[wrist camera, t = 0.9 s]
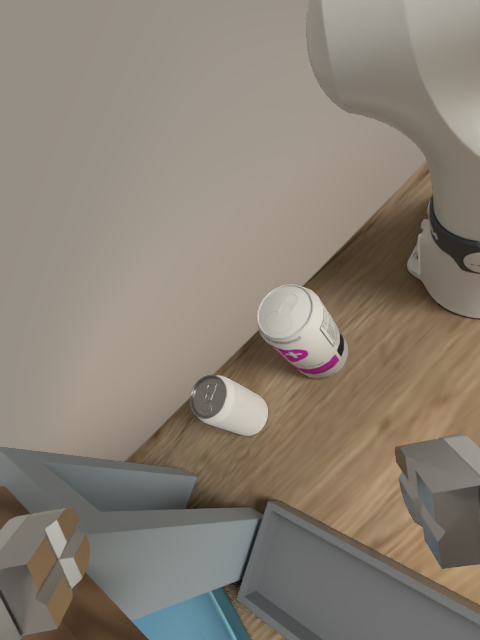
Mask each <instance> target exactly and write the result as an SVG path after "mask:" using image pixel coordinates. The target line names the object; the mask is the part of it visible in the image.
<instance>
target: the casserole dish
mask: <svg viewBox="0 0 480 640" xmlns="http://www.w3.org/2000/svg"><path fill="white" fill-rule="evenodd" d="M132 622H133V623H134V624H135V625H136V626H137V627H138V629H139V630H140V631H141V632H142V633H143V634H144V635H145V636H146V637H147V638H148V639H149V640H251V639H250V637H249V635H248V633H247V631H246V629H245V627H244V625H243V623H242V622H241V620H240V618H239V616H238V614H237V612H236V610H235V609H234V607H233V605H232V603H231V601H230V599H229V597H228V596H227V594H226V592H225V590H224V589H223V587H220V588H217V589H214V590H212V591H209V592H206V593H204V594H201V595H199V596H196V597H193V598H191V599H188V600H185V601H183V602H180V603H177V604H175V605H172V606H169V607H167V608H164V609H161V610H159V611H156V612H153V613H151V614H148V615H145V616H143V617H140V618H137V619H135V620H132Z"/></svg>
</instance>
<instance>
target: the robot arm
mask: <svg viewBox="0 0 480 640" xmlns="http://www.w3.org/2000/svg"><path fill="white" fill-rule="evenodd" d="M306 39H307V48H308V55H309V60H310V63H311V66H312V69H313V72H314V75H315V77H316V79H317V81H318V83H319V85H320V87H321V88H322V89H323V91H324V92H325V94H326V95H327V96H328V97H329V98H330V99H331V100H332V102H333V103H335V104H336V105H337V106H338V107H340V108H341V109H343V110H344V111H346V112H348V113H352V114H357V115H363V116H366V117H370V118H373V119H376V120H378V121H381V122H383V123H386V124H388V125H390V126H391V127H393V128H395V129H397V130H398V131H400V132H402V133H403V134H404V135H406V136H407V137H408V138H409V139H411V140H412V141H413V142H414V143H415V144H416V145H417V146H418V147H419V148H420V150H421V151H422V152H423V154H424V156H425V157H426V160H427V163H428V167H429V171H430V177H431V183H432V191H433V195H432V197H431V200H430V201H429V204H428V207H427V215H428V219H423V221H422V223H421V229H422V230H423V232H422V233H421V234H419V235H418V243H417V245H416V246H415V248H414V250H413V252H412V254H411V256H410V258H409V260H408V262H407V269H408V271H409V272H410V273H411V274H412V275H414V276H415V277H416V278H418V279H420V280H421V281H422V282H423V284H424V285H425V287H426V289H427V291H428V292H429V294H430V295H431V296H432V298H433V299H434V300H435V301H436V302H437V303H439V304H440V305H441V306H443V307H444V308H446V309H448V310H450V311H452V312H454V313H457V314H460V315H463V316H467V317H472V318H480V0H309V4H308V10H307V21H306ZM417 258H418V259H417ZM395 456H396V462H397V464H398V465H399V467H400V468H401V470H402V473H401V475H400V477H399V482H400V488H401V492H402V495H403V498H404V502H405V504H406V506H407V509H408V511H409V513H410V515H411V517H412V518H413V520H414V522H415V523H417V524H418V525H420V526H422V527H423V531H424V537H425V541H426V543H427V544H428V546H429V548H430V549H431V551H432V553H433V554H434V556H435V558H436V560H437V561H438V563H439V565H440V566H441V568H442V569H445V568H453V567H461V566H469V565H477V564H480V447H478V446H477V445H476V444H475V443H474V442H473V441H472V440H471V439H470V438H468V437H467V436H466V435H465V434H462V433H458V434H454V435H449V436H444V437H440V438H438V439H434V440H429V441H423V442H418V443H413V444H408V445H403V446H397V447H395ZM79 521H80V519H79V517H78V515H77V513H76V511H75V509H72V508H64V509H58V510H51V511H45V512H39V513H34V514H28V515H22V516H17V517H14V518H12V519H10V520H9V521H8V522H7V523H6V524H5V525H4V526H3V528H2V529H1V530H0V640H20V639H21V636H23V635H29V634H34V633H39V632H44V631H49V630H54V629H58V627H59V625H60V623H61V621H62V619H63V617H64V615H65V613H66V611H67V608H68V606H69V604H70V602H71V600H72V598H73V595H72V588H73V587H74V586H75V585H76V584H77V583H78V582H79V581H80V580H81V579H82V578H83V576H84V574H85V571H86V569H87V567H88V563H89V557H90V546H89V541H88V538H87V536H86V534H85V533H83V532H82V531H81V530H79V529H78V528H77V527H78V524H79Z"/></svg>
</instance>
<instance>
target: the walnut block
mask: <svg viewBox="0 0 480 640" xmlns="http://www.w3.org/2000/svg"><path fill="white" fill-rule="evenodd" d="M28 514H31V513H30V512H29V511H28V510H27V509H26V508H25V507H24V506H23V505H22V504H21V503H20V502H19V501H18V499H17V498H16V497H15V496H14V495H13V494H12V493H11V492H10V491H9V490H8V489H7V488H6V487H5V486H0V530H1V529H2V528H3V526H4V525H5V524H6V523H7V522H8V521H9V520H10V519H12V518H14V517H17V516H22V515H28ZM72 595H73V598H72V600H71V602H70V604H69V606H68V608H67V611H66V613H65V615H64V617H63V619H62V621H61V623H60V625H59V627H58V629H54V630H49V631H44V632H39V633H34V634H29V635H23V636H21V639H20V640H149V639H148V638H147V637H146V636H145V635H144V634H143V633H142V632H141V631H140V630H139V629H138V627H137V626H136V625H135V624H134V623H133V622H132V621H131V620H130V619H129V618H128V617H127V616H126V615H125V614H124V613H123V611H122V610H121V609H120V608H119V607H118V606H117V605H116V604H115V603H114V602H113V601H112V600H111V599H110V598H109V597H108V595H107V594H106V593H105V592H104V591H103V590H102V589H101V588H100V587H99V586H98V585H97V584H96V583H95V582H94V581H93V579H92V578H91V577H90V576H89V575H88V574H87V573H86V572H85V574H84V576H83V578H82V579H81V580H80V581H79V582H78V583H77V584H76V585H75V586H74V587H73V588H72Z"/></svg>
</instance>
